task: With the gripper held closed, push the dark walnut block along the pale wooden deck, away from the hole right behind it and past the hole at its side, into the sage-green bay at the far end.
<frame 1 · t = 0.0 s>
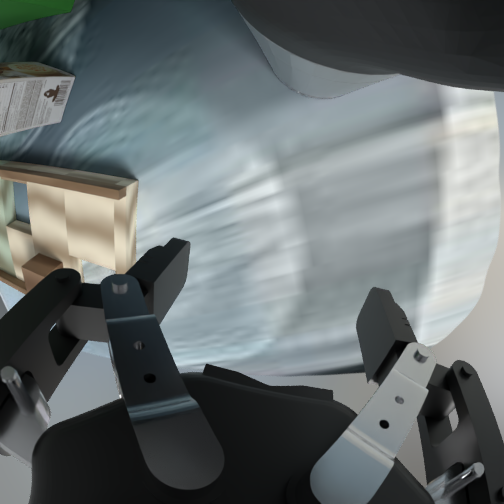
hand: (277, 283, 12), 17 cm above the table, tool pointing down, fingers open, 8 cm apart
walnut block: (52, 272, 34), point 2 cm above the table, touching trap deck
coffee box: (48, 90, 26), on the table
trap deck: (47, 233, 35), on the table
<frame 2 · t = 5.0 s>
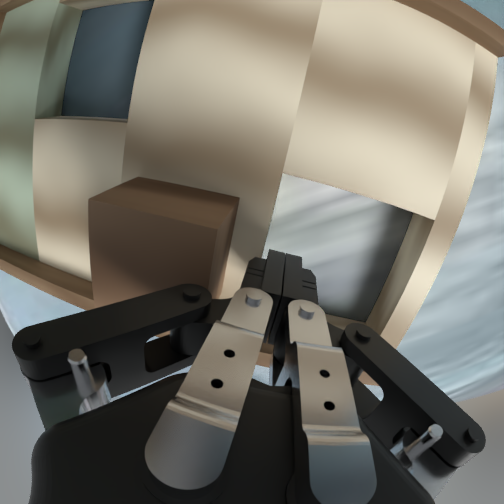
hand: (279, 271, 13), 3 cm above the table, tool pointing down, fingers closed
walnut block: (179, 235, 14), point 3 cm above the table, touching gripper, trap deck
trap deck: (165, 132, 14), on the table
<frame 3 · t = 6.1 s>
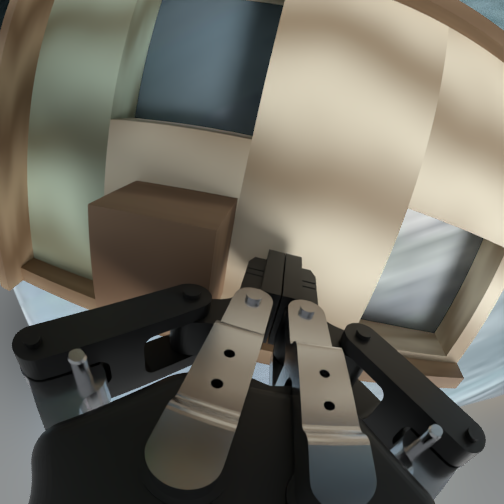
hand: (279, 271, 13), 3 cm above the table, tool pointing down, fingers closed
walnut block: (179, 238, 14), point 3 cm above the table, touching gripper
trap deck: (275, 151, 14), on the table
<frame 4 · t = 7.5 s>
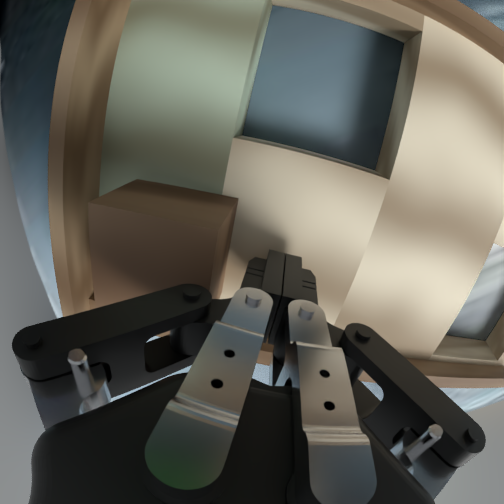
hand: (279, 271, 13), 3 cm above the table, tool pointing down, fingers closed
walnut block: (179, 237, 14), point 3 cm above the table, touching gripper, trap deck
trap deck: (388, 185, 14), on the table
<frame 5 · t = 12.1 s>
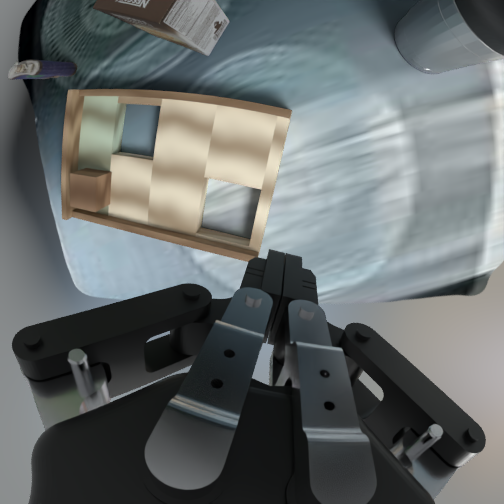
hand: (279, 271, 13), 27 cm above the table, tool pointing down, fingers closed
walnut block: (97, 185, 39), point 2 cm above the table, touching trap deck
flask: (60, 70, 34), on the table
coffee box: (193, 28, 31), on the table
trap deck: (166, 162, 39), on the table
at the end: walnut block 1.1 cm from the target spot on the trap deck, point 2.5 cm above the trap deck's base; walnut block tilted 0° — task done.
